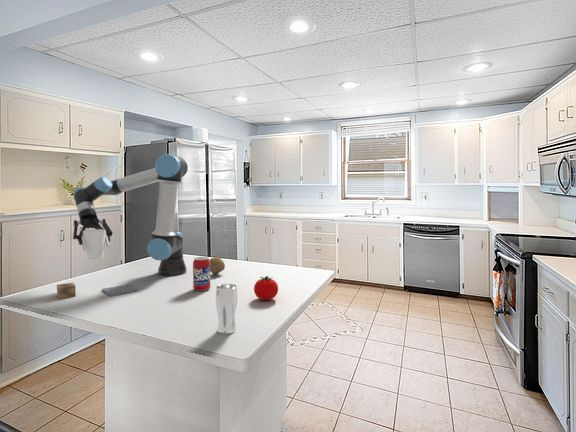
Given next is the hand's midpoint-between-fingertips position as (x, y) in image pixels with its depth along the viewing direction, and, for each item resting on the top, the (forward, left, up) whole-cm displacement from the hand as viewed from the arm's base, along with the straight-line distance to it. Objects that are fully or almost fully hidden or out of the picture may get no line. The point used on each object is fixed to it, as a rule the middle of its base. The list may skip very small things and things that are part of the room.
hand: (97, 248), depth 158 cm
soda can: (-45, +22, -19) cm, 54 cm away
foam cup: (+1, -3, -5) cm, 6 cm away
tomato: (-68, +47, -19) cm, 85 cm away
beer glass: (-45, +72, -19) cm, 87 cm away
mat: (-10, +10, -19) cm, 23 cm away
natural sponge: (-57, -3, -19) cm, 60 cm away
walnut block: (+11, +10, -19) cm, 24 cm away
